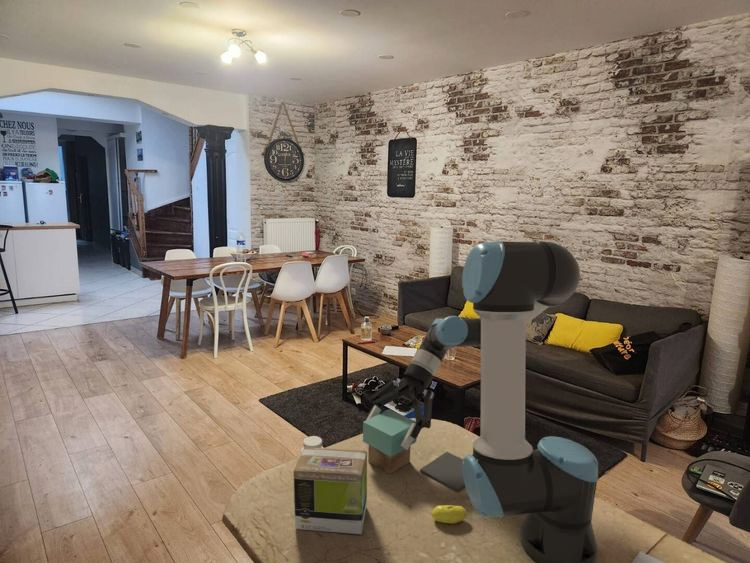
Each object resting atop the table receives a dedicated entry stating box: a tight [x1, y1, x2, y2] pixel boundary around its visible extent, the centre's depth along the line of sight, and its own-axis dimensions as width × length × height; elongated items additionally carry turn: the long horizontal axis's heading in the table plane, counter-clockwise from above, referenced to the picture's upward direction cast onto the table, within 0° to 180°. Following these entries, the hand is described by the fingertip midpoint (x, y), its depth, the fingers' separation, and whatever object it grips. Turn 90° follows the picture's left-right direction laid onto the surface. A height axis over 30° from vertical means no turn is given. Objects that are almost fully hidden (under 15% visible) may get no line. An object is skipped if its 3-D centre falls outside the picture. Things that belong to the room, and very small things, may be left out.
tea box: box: [293, 447, 368, 535], centre depth 110 cm, size 15×10×15 cm
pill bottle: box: [299, 435, 324, 457], centre depth 124 cm, size 6×6×11 cm
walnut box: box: [367, 445, 412, 475], centre depth 133 cm, size 8×8×11 cm
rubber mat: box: [419, 451, 466, 493], centre depth 130 cm, size 12×12×1 cm
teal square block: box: [362, 409, 418, 457], centre depth 132 cm, size 10×10×6 cm
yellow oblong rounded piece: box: [431, 504, 468, 525], centre depth 111 cm, size 4×8×4 cm, turn 87°
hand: (384, 437), depth 131 cm, fingers open, 13 cm apart
